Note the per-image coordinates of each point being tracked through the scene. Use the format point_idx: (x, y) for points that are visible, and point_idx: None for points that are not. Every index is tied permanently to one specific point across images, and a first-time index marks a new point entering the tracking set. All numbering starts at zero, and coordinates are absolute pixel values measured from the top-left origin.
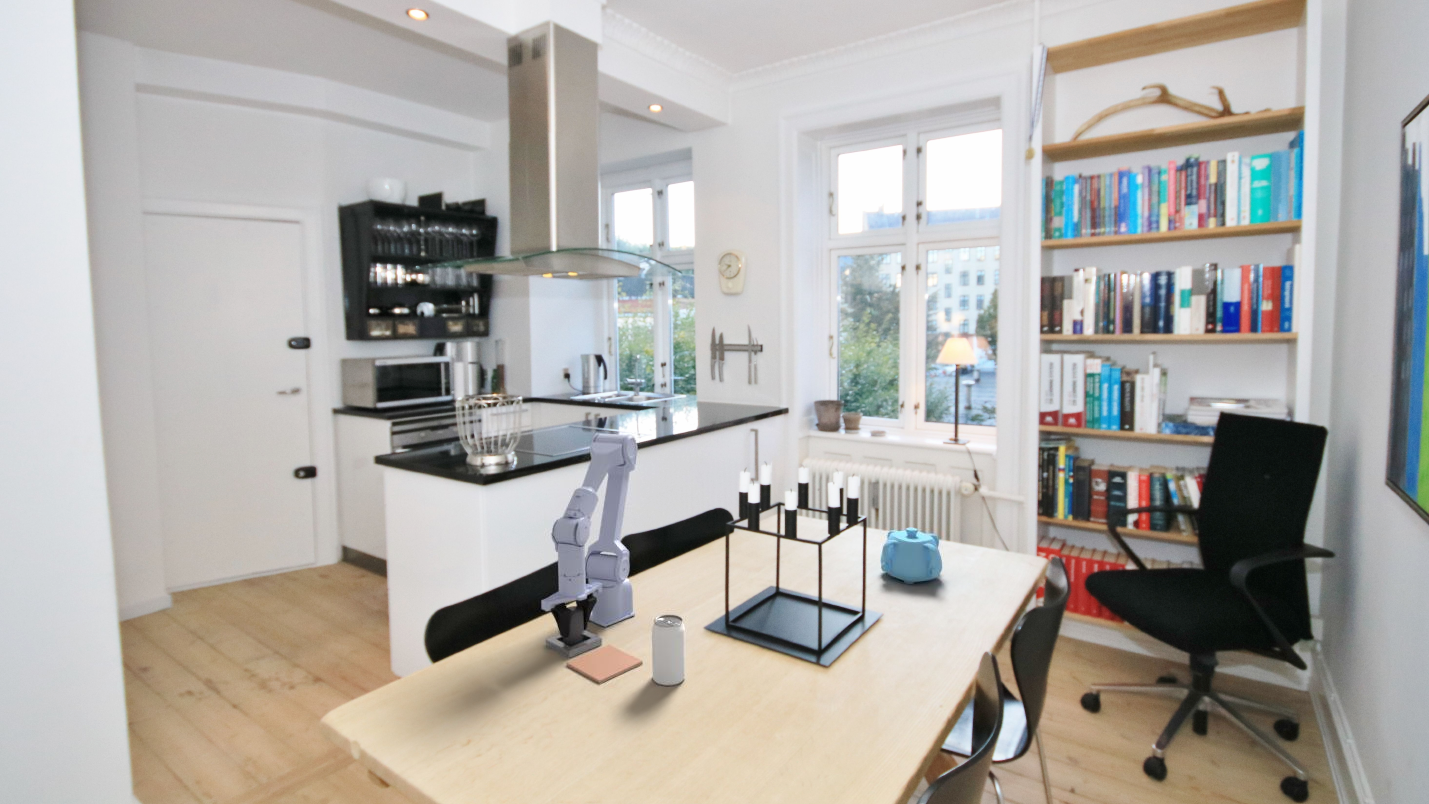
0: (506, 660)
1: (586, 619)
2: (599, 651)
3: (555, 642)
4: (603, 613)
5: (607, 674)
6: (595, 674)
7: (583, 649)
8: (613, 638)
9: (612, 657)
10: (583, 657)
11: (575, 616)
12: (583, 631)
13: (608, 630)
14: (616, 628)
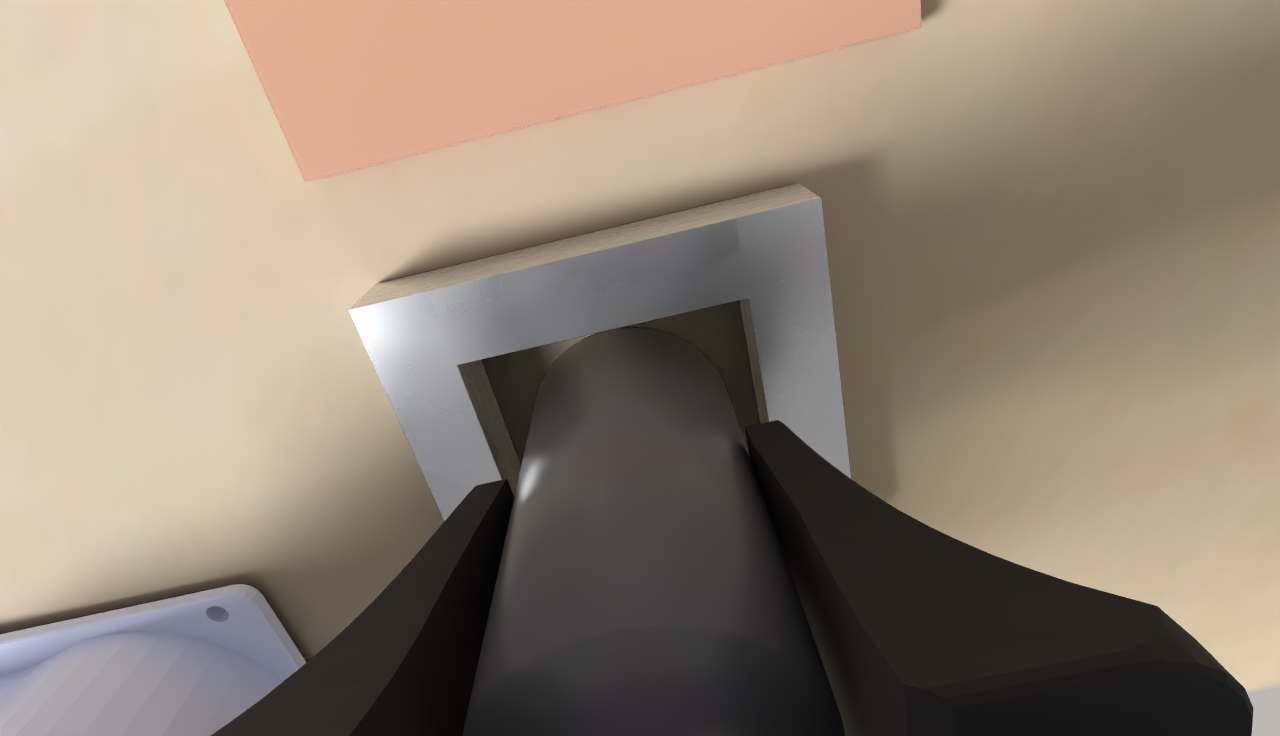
0: (1226, 455)
1: (455, 558)
2: (466, 75)
3: None
4: (191, 724)
5: None
6: None
7: (613, 235)
8: (220, 345)
9: None
10: (698, 34)
11: (686, 581)
12: (538, 443)
13: (234, 517)
14: (147, 517)
